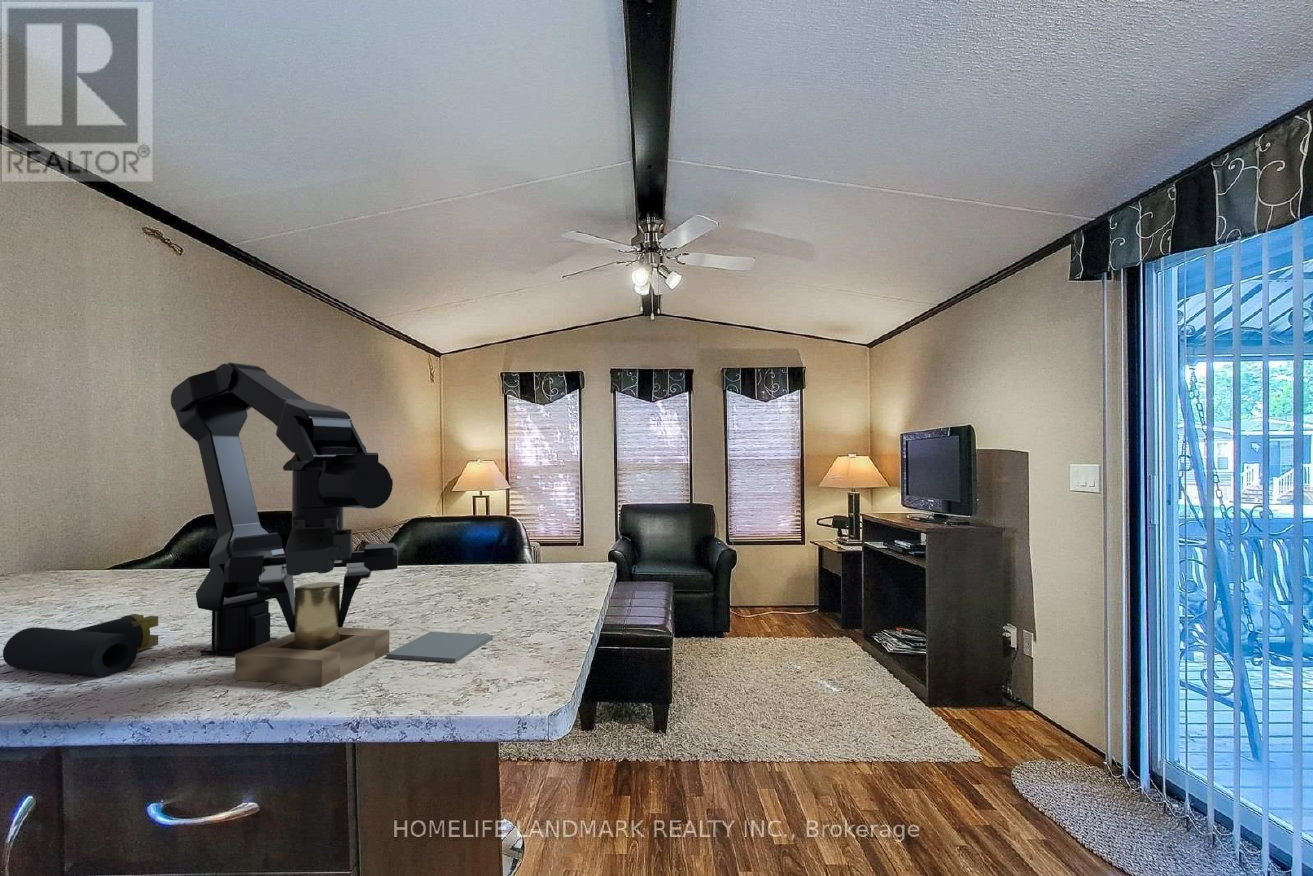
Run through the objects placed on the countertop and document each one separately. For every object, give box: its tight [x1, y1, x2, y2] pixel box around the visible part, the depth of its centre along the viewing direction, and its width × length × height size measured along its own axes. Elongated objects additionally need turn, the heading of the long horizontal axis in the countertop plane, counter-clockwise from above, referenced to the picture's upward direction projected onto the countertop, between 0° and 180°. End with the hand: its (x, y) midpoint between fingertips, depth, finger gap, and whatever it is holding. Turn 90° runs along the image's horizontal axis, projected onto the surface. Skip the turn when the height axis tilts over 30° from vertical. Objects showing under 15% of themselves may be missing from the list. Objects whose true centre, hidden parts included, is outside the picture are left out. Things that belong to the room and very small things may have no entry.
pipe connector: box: [2, 613, 159, 678], centre depth 78 cm, size 12×5×15 cm
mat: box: [385, 631, 494, 663], centre depth 81 cm, size 10×10×1 cm
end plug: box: [294, 581, 341, 651], centre depth 75 cm, size 5×5×9 cm
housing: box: [234, 626, 390, 687], centre depth 75 cm, size 12×12×3 cm
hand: (317, 629), depth 75 cm, fingers closed on end plug, 5 cm apart
